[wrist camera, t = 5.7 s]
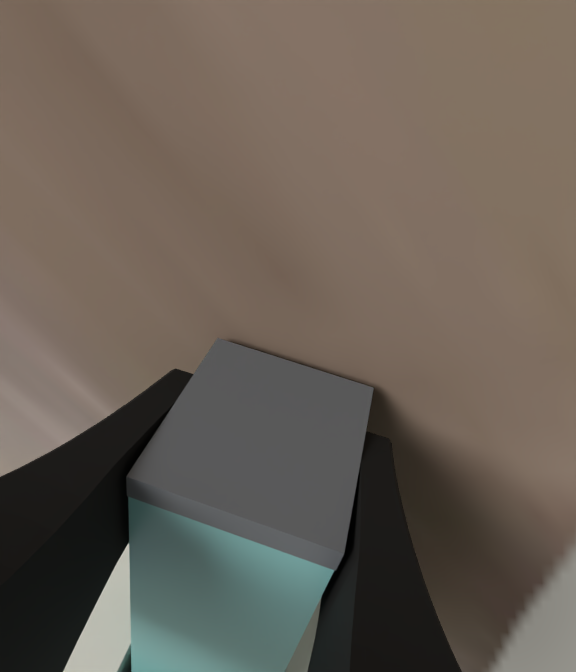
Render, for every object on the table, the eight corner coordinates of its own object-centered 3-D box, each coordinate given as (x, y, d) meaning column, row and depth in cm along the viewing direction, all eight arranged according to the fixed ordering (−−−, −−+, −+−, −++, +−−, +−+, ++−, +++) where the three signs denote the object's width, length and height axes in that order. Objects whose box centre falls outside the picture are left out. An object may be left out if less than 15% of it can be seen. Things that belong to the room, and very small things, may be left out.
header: (292, 666, 22) (248, 862, 17) (86, 588, 23) (-13, 751, 18) (335, 583, 18) (291, 820, 13) (73, 489, 19) (-66, 674, 14)
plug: (288, 596, 19) (252, 738, 15) (189, 560, 19) (130, 690, 15) (373, 388, 12) (344, 554, 8) (217, 337, 12) (126, 476, 9)
